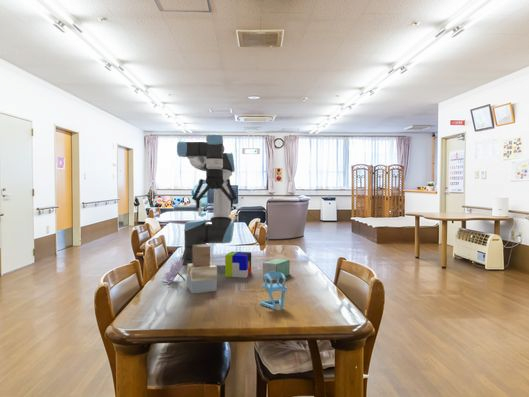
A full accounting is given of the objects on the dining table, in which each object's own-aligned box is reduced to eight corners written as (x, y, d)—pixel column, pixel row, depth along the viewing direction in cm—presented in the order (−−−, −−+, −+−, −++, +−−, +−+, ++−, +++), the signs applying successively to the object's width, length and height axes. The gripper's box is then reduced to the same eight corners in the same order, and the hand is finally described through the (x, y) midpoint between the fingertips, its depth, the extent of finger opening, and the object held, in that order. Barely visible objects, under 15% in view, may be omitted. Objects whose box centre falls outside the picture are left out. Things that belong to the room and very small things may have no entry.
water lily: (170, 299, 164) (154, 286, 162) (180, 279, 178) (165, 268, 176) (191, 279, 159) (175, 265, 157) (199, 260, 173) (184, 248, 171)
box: (290, 274, 180) (290, 258, 180) (276, 280, 168) (276, 264, 168) (276, 272, 184) (276, 257, 183) (262, 278, 172) (262, 262, 172)
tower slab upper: (187, 275, 157) (187, 263, 157) (210, 273, 161) (210, 261, 161) (192, 281, 148) (192, 268, 148) (217, 279, 152) (217, 266, 152)
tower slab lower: (187, 287, 158) (186, 275, 158) (210, 285, 162) (210, 273, 161) (192, 293, 149) (191, 281, 148) (216, 291, 152) (216, 278, 152)
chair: (269, 311, 128) (269, 276, 127) (259, 304, 136) (260, 270, 135) (289, 308, 131) (290, 274, 130) (279, 301, 139) (279, 269, 138)
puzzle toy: (246, 277, 174) (246, 256, 173) (225, 276, 176) (225, 255, 175) (251, 272, 184) (251, 252, 183) (231, 271, 186) (231, 251, 185)
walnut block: (192, 264, 156) (192, 244, 156) (206, 263, 159) (206, 244, 158) (195, 267, 151) (195, 247, 151) (210, 266, 153) (210, 246, 153)
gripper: (188, 167, 163) (188, 216, 164) (243, 168, 173) (243, 215, 173) (185, 168, 170) (185, 215, 171) (238, 169, 180) (238, 213, 180)
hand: (214, 215), depth 172 cm, fingers open, 13 cm apart
